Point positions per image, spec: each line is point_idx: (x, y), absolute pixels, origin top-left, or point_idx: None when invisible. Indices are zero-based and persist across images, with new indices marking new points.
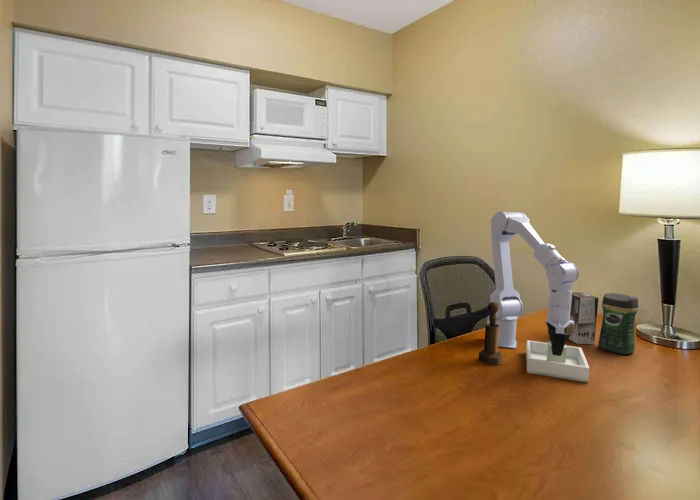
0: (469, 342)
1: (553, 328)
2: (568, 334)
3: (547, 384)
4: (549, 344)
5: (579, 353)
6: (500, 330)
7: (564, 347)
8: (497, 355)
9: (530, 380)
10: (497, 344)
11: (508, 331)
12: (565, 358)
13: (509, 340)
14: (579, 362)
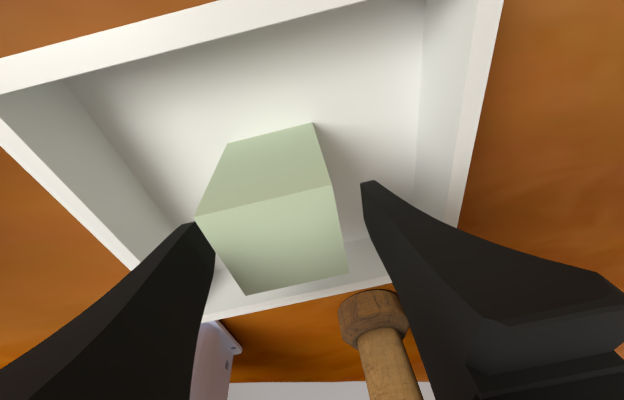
0: (255, 365)
1: (162, 395)
2: (617, 324)
3: (514, 151)
4: (322, 276)
5: (82, 73)
6: (208, 397)
7: (326, 199)
8: (397, 321)
9: (488, 204)
10: (398, 363)
11: (193, 387)
12: (318, 146)
13: (198, 342)
14: (154, 55)
